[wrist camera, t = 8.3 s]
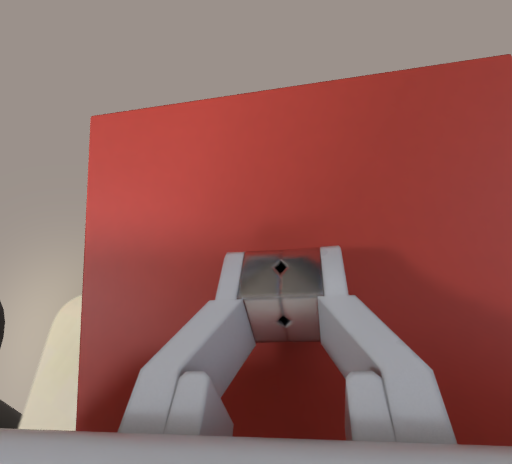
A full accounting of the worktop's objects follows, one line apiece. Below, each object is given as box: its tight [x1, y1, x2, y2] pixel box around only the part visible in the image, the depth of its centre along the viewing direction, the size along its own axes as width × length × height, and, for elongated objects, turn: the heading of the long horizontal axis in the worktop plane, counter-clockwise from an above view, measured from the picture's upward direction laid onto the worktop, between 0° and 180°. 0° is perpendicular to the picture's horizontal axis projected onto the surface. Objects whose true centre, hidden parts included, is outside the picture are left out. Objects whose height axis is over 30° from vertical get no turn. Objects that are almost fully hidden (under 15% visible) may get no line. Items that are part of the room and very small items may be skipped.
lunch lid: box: [76, 54, 512, 446], centre depth 10 cm, size 16×14×1 cm
